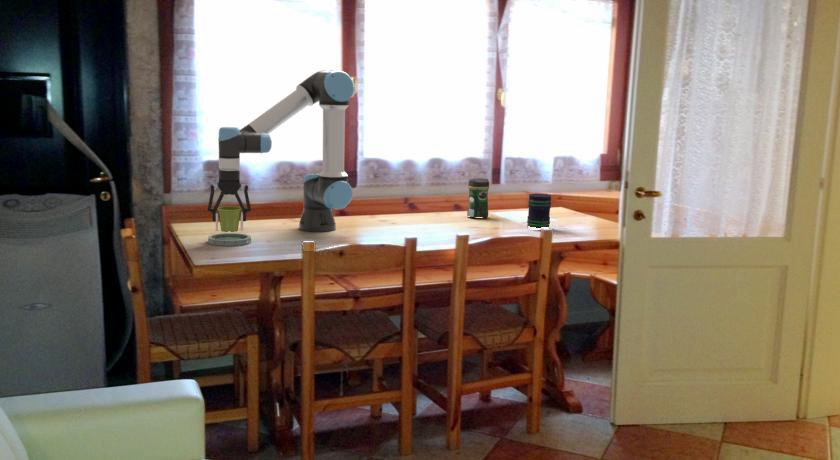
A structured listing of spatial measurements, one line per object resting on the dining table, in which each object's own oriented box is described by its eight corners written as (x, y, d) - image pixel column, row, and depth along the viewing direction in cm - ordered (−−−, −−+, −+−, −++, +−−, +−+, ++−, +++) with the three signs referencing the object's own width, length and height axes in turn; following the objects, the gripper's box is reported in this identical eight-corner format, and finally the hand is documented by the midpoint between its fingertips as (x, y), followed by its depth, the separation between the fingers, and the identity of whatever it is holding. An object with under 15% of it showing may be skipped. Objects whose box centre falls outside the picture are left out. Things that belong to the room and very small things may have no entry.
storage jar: (553, 229, 356) (556, 195, 354) (541, 231, 349) (543, 197, 347) (535, 226, 363) (537, 193, 360) (522, 228, 356) (524, 194, 353)
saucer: (258, 240, 309) (258, 235, 309) (238, 247, 295) (238, 242, 294) (221, 236, 313) (221, 231, 313) (200, 244, 299) (200, 238, 298)
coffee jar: (480, 215, 387) (482, 177, 384) (490, 218, 381) (492, 179, 377) (464, 216, 382) (465, 177, 379) (473, 219, 376) (475, 179, 372)
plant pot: (229, 234, 297) (229, 210, 295) (211, 230, 302) (210, 207, 300) (247, 230, 305) (247, 208, 303) (229, 227, 310) (229, 205, 308)
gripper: (257, 168, 305) (257, 228, 309) (199, 168, 300) (200, 228, 304) (259, 170, 298) (258, 231, 302) (199, 170, 293) (199, 232, 297)
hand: (229, 229), depth 303 cm, fingers closed on plant pot, 8 cm apart
